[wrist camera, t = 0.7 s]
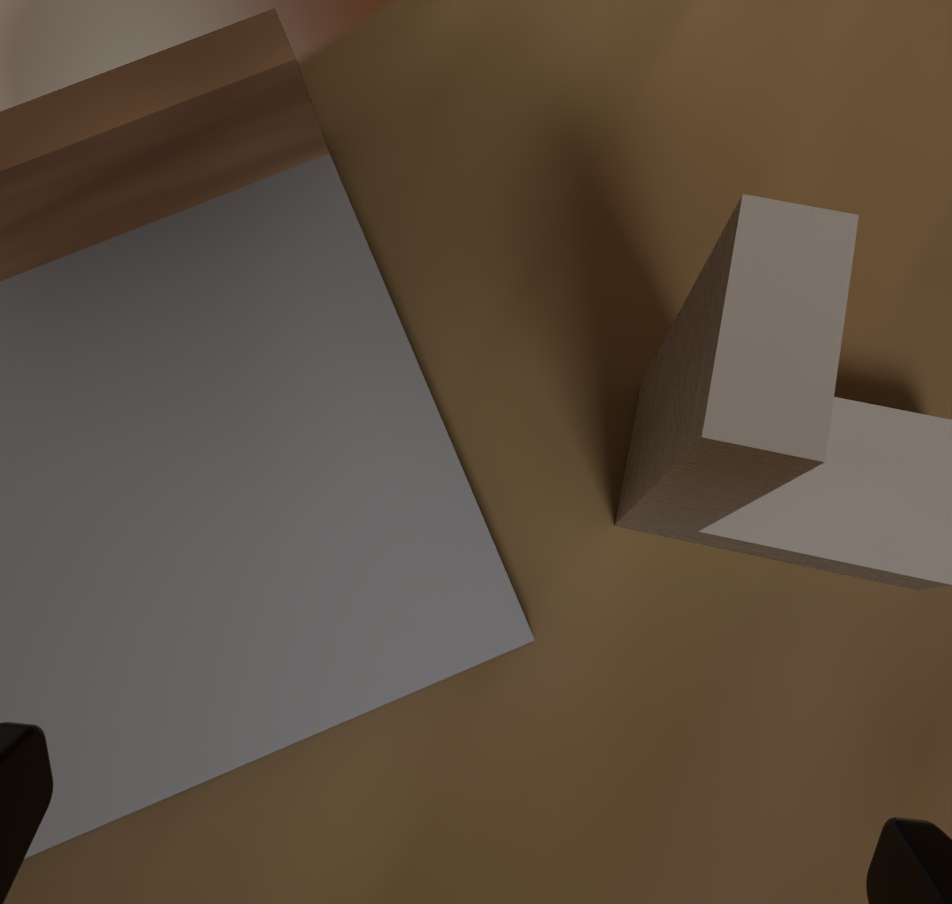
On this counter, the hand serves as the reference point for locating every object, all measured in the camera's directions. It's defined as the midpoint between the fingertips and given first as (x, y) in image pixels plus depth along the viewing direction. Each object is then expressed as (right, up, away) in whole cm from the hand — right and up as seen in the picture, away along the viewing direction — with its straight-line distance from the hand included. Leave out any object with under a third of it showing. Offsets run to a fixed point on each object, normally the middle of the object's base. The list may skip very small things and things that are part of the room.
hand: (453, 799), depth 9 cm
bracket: (+8, +3, +13) cm, 16 cm away
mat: (-10, +3, +14) cm, 17 cm away
